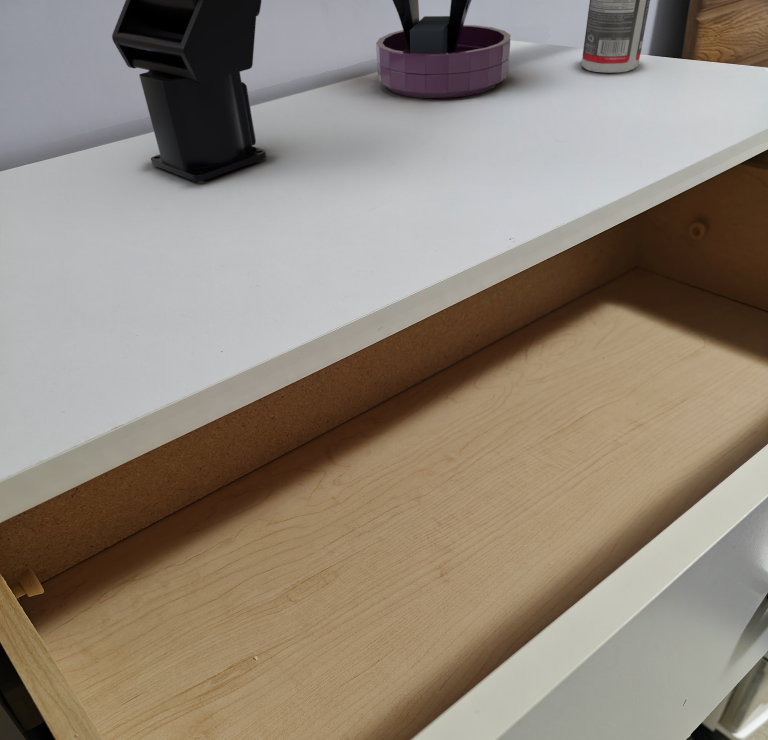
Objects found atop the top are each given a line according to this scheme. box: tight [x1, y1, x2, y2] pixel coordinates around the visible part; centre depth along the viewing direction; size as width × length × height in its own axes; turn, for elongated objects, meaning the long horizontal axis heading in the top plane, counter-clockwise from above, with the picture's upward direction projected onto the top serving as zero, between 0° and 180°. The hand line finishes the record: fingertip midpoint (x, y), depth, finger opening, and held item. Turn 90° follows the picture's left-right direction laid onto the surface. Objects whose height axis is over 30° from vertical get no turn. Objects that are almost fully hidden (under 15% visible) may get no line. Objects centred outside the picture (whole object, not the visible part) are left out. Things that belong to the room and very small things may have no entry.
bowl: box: [375, 24, 511, 99], centre depth 63 cm, size 12×12×4 cm
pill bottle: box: [581, 0, 651, 74], centre depth 62 cm, size 5×5×10 cm
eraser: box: [410, 15, 450, 54], centre depth 63 cm, size 6×3×4 cm, turn 165°
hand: (432, 61), depth 64 cm, fingers closed on eraser, 3 cm apart
